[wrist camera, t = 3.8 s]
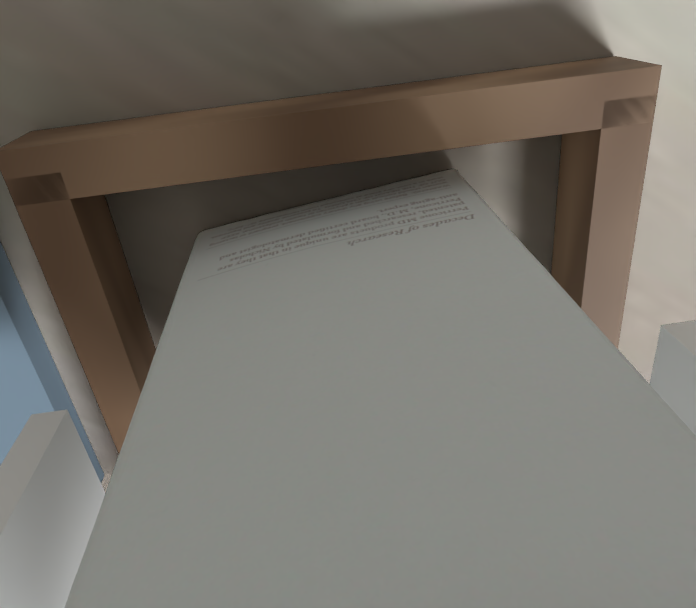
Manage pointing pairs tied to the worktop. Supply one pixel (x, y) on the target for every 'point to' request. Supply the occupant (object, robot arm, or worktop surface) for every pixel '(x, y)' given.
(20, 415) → the rubber mat
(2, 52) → the worktop surface
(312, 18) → the worktop surface
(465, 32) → the worktop surface
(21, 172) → the walnut pocket tray
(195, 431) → the supplement box
